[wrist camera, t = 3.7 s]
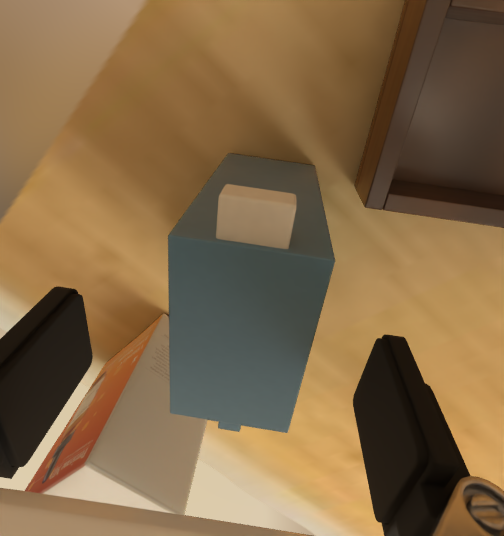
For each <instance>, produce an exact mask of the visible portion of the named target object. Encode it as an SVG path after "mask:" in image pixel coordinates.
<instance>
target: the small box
mask: <svg viewBox="0 0 504 536" xmlns="http://www.w3.org/2000/svg"><path fill="white" fill-rule="evenodd" d="M206 424H207V419H201V418H195V417H189V416H183V415H177V414H171V413H170V378H169V317H168V316H167V315H166V314H162V315H161V316H160V317H159V318H158V319H157V320H156V321H155V322H154V323H153V324H151V325H150V326H149V327H148V328H147V329H146V330H145V331H144V332H142V333H141V334H140V335H139V336H138V337H137V338H135V339H134V340H133V341H132V342H130V343H129V344H128V345H127V346H126V347H124V348H123V349H122V350H121V351H120V352H119V353H117V354H116V355H115V356H114V357H113V358H112V359H110V360H109V361H108V362H107V363H106V364H105V365H104V366H103V368H102V370H101V371H100V373H99V375H98V376H97V378H96V379H95V381H94V383H93V384H92V386H91V387H90V389H89V391H88V392H87V394H86V395H85V397H84V398H83V400H82V401H81V403H80V404H79V406H78V408H77V409H76V411H75V413H74V414H73V416H72V417H71V419H70V420H69V422H68V424H67V425H66V427H65V429H64V430H63V432H62V433H61V435H60V436H59V438H58V439H57V441H56V442H55V444H54V445H53V447H52V449H51V450H50V452H49V453H48V455H47V456H46V458H45V460H44V461H43V463H42V465H41V466H40V468H39V469H38V471H37V472H36V474H35V475H34V477H33V479H32V480H31V482H30V483H29V485H28V486H27V488H26V490H25V491H27V492H34V493H41V494H48V495H54V496H61V497H68V498H74V499H81V500H88V501H94V502H101V503H108V504H114V505H121V506H128V507H134V508H141V509H147V510H154V511H160V512H167V513H173V514H179V515H184V514H185V509H186V505H187V500H188V497H189V493H190V489H191V485H192V480H193V477H194V472H195V468H196V464H197V460H198V456H199V452H200V448H201V444H202V440H203V436H204V432H205V428H206Z"/></svg>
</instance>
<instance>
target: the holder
mask: <svg viewBox="0 0 504 536" xmlns="http://www.w3.org/2000/svg"><path fill="white" fill-rule="evenodd" d="M355 189H356V191H357V193H358V195H359V197H360V198H361V200H362V202H363V204H364V206H365V207H366V208H372V209H379V210H382V209H383V210H386V211H393V212H400V213H407V214H413V215H420V216H427V217H434V218H441V219H448V220H454V221H461V222H468V223H475V224H482V225H488V226H495V227H502V228H504V0H405V4H404V7H403V11H402V15H401V18H400V22H399V25H398V29H397V33H396V36H395V40H394V44H393V47H392V51H391V55H390V58H389V62H388V66H387V69H386V73H385V77H384V80H383V84H382V87H381V91H380V95H379V98H378V102H377V106H376V109H375V113H374V117H373V120H372V124H371V128H370V131H369V135H368V139H367V142H366V146H365V149H364V153H363V157H362V160H361V164H360V168H359V171H358V175H357V179H356V182H355Z"/></svg>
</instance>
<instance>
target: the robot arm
mask: <svg viewBox="0 0 504 536" xmlns="http://www.w3.org/2000/svg"><path fill="white" fill-rule="evenodd" d="M91 363H92V349H91V344H90V338H89V332H88V326H87V320H86V314H85V308H84V302H83V297H82V295H80V294H78V292H77V290H75V289H71V288H64V287H54V288H53V289H52V290H51V291H50V292H49V293H48V294H47V295H46V296H45V297H44V298H42V299H41V300H40V301H39V302H38V303H37V304H36V305H35V306H34V307H33V308H32V309H31V310H30V311H29V312H28V313H27V314H26V315H25V316H24V317H23V318H22V319H21V320H20V321H19V322H18V323H17V324H16V325H14V326H13V327H12V328H11V329H10V330H9V331H8V332H7V333H6V334H5V335H4V336H3V337H2V338H1V339H0V477H4V478H10V479H12V477H13V475H14V474H15V473H16V471H17V470H18V468H19V467H23V466H24V465H26V463H27V462H28V461H29V460H30V458H31V457H32V455H33V453H34V452H35V450H36V449H37V447H38V446H39V444H40V442H41V441H42V440H43V438H44V437H45V435H46V433H47V432H48V430H49V429H50V427H51V426H52V424H53V423H54V421H55V420H56V418H57V417H58V415H59V413H60V412H61V410H62V409H63V407H64V406H65V404H66V403H67V401H68V399H69V398H70V396H71V395H72V393H73V392H74V390H75V389H76V387H77V386H78V384H79V383H80V381H81V379H82V378H83V376H84V375H85V373H86V372H87V370H88V369H89V367H90V365H91ZM353 407H354V412H355V417H356V422H357V427H358V433H359V438H360V443H361V448H362V453H363V458H364V463H365V469H366V474H367V479H368V484H369V489H370V494H371V499H372V504H373V510H374V514H375V518H376V520H377V521H378V522H382V526H383V531H384V536H504V491H503V490H502V489H501V488H499V487H498V486H496V485H495V484H493V483H491V482H490V481H488V480H485V479H482V478H480V477H473V476H470V474H469V472H468V469H467V467H466V465H465V463H464V460H463V458H462V456H461V454H460V451H459V449H458V447H457V445H456V442H455V440H454V438H453V436H452V433H451V431H450V429H449V427H448V424H447V422H446V420H445V418H444V415H443V413H442V411H441V409H440V407H439V404H438V402H437V400H436V398H435V395H434V393H433V391H432V389H431V388H430V386H429V385H427V384H425V383H424V380H423V378H422V376H421V373H420V371H419V369H418V366H417V364H416V362H415V359H414V357H413V355H412V352H411V350H410V348H409V346H408V343H407V341H406V339H405V338H404V337H399V336H392V335H384V336H383V337H382V339H381V338H378V339H376V341H375V344H374V346H373V349H372V351H371V354H370V356H369V359H368V361H367V364H366V366H365V369H364V371H363V374H362V376H361V379H360V381H359V384H358V386H357V389H356V391H355V394H354V398H353ZM0 536H312V535H306V534H299V533H293V532H287V531H281V530H275V529H268V528H262V527H256V526H249V525H243V524H237V523H231V522H224V521H217V520H212V519H204V518H199V517H192V516H186V515H179V514H173V513H167V512H160V511H154V510H147V509H141V508H134V507H128V506H121V505H114V504H108V503H101V502H94V501H88V500H81V499H74V498H68V497H61V496H54V495H48V494H41V493H34V492H27V491H20V490H11V489H4V488H0Z"/></svg>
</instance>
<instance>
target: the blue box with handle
mask: <svg viewBox="0 0 504 536" xmlns="http://www.w3.org/2000/svg"><path fill="white" fill-rule="evenodd" d="M334 263H335V258H334V253H333V248H332V244H331V239H330V234H329V230H328V225H327V220H326V216H325V211H324V206H323V202H322V197H321V192H320V188H319V183H318V178H317V174H316V169H315V166H314V165H308V164H301V163H294V162H287V161H280V160H273V159H266V158H259V157H252V156H245V155H238V154H231V153H228V154H227V156H226V157H225V158H224V160H223V161H222V163H221V164H220V165H219V167H218V168H217V169H216V171H215V172H214V173H213V175H212V176H211V178H210V179H209V180H208V182H207V183H206V184H205V186H204V187H203V188H202V190H201V191H200V193H199V194H198V195H197V197H196V198H195V199H194V201H193V202H192V203H191V205H190V206H189V208H188V209H187V210H186V212H185V213H184V214H183V216H182V217H181V219H180V220H179V221H178V223H177V224H176V225H175V227H174V228H173V229H172V231H171V232H170V234H169V235H168V271H169V378H170V413H171V414H177V415H183V416H189V417H195V418H201V419H207V420H213V421H219V423H218V428H220V429H226V430H232V431H238V432H239V431H240V428H241V425H243V426H249V427H255V428H261V429H267V430H273V431H279V432H285V433H287V432H288V430H289V426H290V423H291V419H292V415H293V412H294V408H295V404H296V401H297V397H298V394H299V390H300V386H301V383H302V379H303V376H304V372H305V368H306V365H307V361H308V357H309V354H310V350H311V347H312V343H313V339H314V336H315V332H316V329H317V325H318V321H319V318H320V314H321V310H322V307H323V303H324V300H325V296H326V292H327V289H328V285H329V282H330V278H331V274H332V271H333V267H334Z"/></svg>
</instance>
